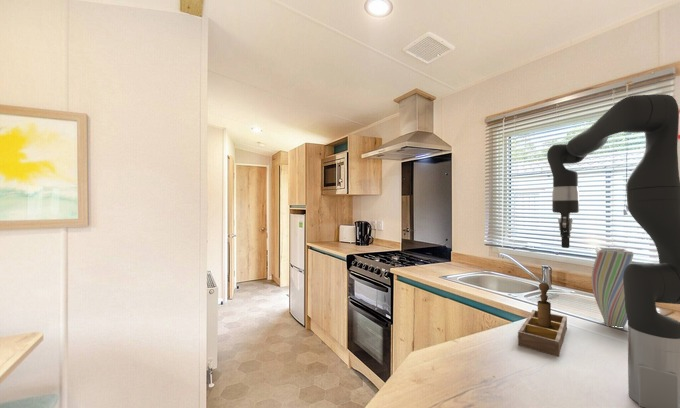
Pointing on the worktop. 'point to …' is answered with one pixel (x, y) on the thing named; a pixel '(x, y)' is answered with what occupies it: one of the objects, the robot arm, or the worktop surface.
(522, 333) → the rack
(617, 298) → the vase
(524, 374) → the worktop surface
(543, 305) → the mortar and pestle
